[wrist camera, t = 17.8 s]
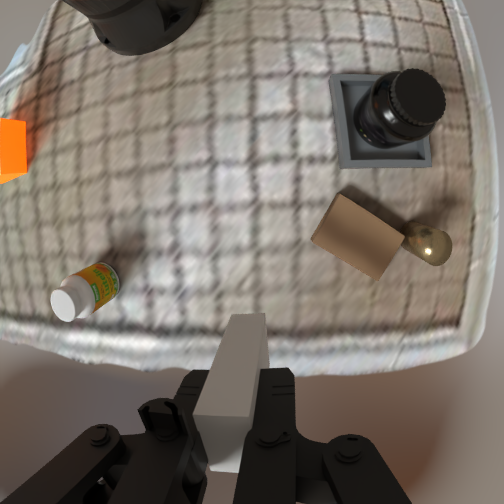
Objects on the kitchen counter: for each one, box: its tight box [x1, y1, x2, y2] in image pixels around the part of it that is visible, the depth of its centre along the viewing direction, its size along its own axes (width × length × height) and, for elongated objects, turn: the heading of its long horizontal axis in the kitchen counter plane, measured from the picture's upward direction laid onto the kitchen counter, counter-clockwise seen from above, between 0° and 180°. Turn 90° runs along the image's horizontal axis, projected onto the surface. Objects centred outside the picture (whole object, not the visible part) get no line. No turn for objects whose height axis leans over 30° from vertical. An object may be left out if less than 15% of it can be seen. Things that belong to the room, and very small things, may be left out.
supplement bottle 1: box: [51, 263, 119, 322], centre depth 33 cm, size 5×5×10 cm
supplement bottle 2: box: [353, 68, 446, 149], centre depth 24 cm, size 7×7×12 cm
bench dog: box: [400, 221, 452, 266], centre depth 29 cm, size 4×4×7 cm
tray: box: [329, 74, 432, 169], centre depth 29 cm, size 11×11×2 cm
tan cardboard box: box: [311, 193, 405, 281], centre depth 33 cm, size 6×9×2 cm, turn 61°
